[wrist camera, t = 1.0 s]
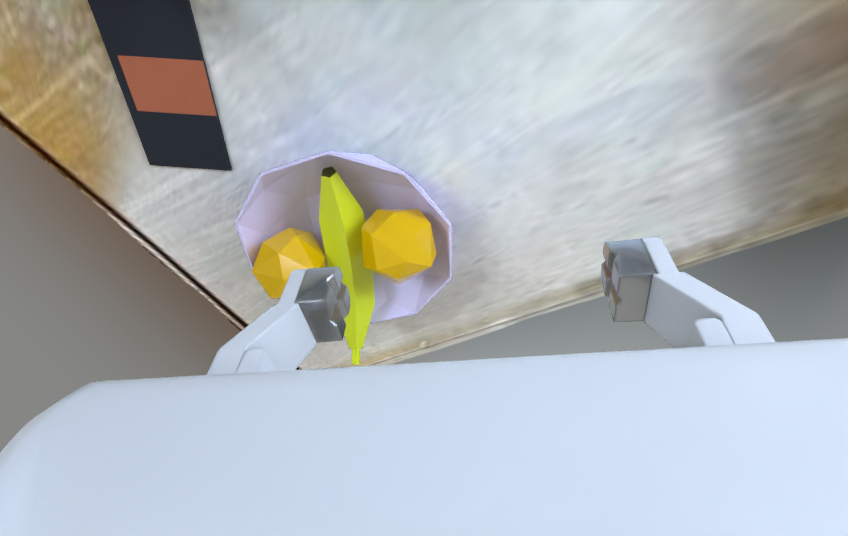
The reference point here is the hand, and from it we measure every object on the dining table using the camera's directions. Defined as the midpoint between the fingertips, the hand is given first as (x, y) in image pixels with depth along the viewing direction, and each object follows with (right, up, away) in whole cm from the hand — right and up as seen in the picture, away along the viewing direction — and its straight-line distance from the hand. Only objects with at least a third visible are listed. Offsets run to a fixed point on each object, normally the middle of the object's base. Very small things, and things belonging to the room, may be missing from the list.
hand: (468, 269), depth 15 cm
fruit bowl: (-11, +5, +49) cm, 51 cm away
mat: (-29, +20, +38) cm, 52 cm away
